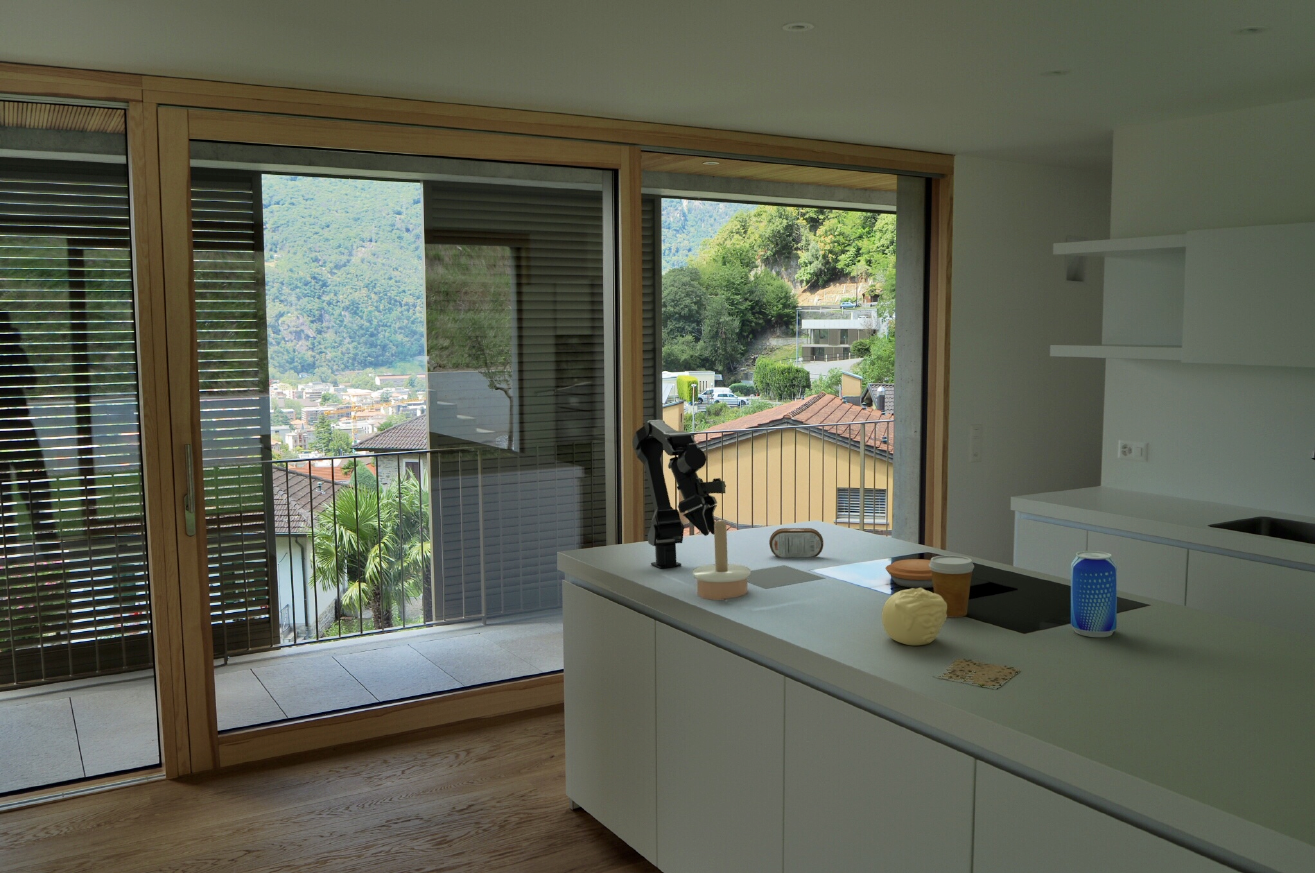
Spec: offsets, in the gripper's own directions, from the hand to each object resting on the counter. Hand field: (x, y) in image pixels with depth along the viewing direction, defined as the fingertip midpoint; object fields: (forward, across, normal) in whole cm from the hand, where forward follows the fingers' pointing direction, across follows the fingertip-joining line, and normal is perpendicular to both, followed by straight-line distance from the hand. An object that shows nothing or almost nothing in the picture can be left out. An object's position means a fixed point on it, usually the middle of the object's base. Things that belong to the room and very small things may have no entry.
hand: (710, 534), depth 252 cm
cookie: (+46, -58, -47) cm, 88 cm away
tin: (+14, +30, -13) cm, 36 cm away
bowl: (+15, -10, +1) cm, 18 cm away
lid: (+11, -10, -1) cm, 15 cm away
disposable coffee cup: (+38, -20, -47) cm, 64 cm away
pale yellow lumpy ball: (+38, -40, -38) cm, 68 cm away
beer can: (+51, -30, -71) cm, 92 cm away
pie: (+31, +7, -42) cm, 53 cm away
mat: (+16, +7, -10) cm, 20 cm away
